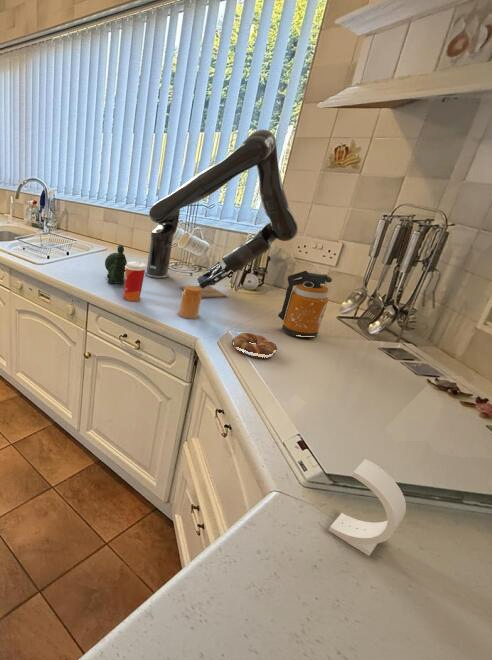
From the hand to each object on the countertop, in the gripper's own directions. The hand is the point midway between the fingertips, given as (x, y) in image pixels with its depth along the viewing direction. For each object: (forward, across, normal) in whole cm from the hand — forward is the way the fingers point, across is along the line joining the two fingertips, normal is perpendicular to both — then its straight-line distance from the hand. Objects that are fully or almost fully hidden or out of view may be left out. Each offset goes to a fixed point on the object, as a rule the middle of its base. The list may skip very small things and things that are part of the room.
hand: (199, 283), depth 158 cm
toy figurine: (+26, +5, +20) cm, 33 cm away
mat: (+1, 0, -4) cm, 4 cm away
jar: (+7, -26, +2) cm, 27 cm away
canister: (-15, -31, -20) cm, 40 cm away
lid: (-3, 0, 0) cm, 3 cm away
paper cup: (+20, -16, +15) cm, 30 cm away
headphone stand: (-6, -109, -10) cm, 110 cm away
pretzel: (-4, -48, -9) cm, 49 cm away
